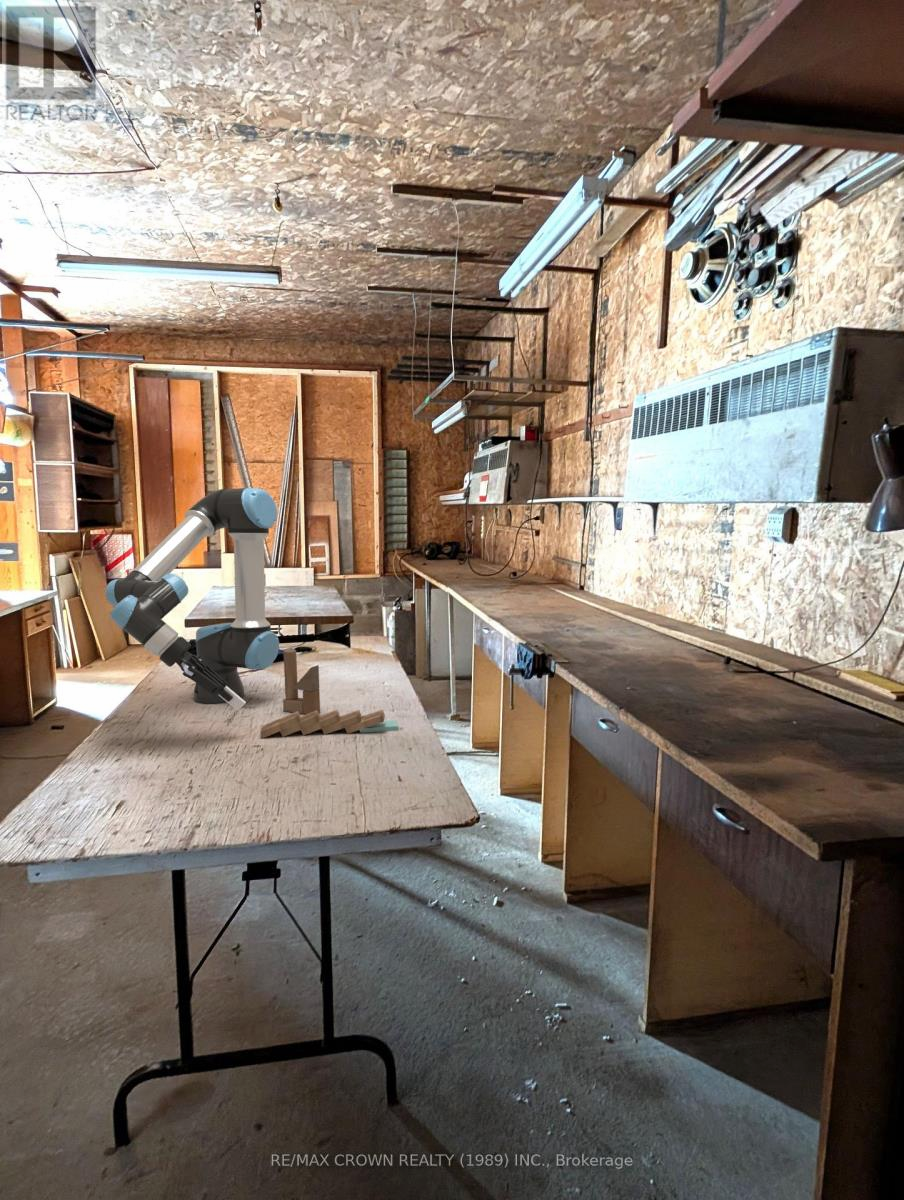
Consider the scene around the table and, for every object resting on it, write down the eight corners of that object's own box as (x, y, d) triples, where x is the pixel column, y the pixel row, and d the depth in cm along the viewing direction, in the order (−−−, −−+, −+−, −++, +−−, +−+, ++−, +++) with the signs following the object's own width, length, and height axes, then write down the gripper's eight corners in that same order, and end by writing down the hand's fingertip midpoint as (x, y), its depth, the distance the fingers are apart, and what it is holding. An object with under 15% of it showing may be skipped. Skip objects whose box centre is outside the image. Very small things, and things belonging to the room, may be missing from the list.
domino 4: (323, 722, 175) (359, 709, 176) (326, 728, 175) (361, 715, 176) (321, 728, 170) (358, 715, 171) (324, 734, 170) (360, 721, 171)
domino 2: (281, 724, 173) (317, 710, 174) (284, 730, 174) (319, 715, 175) (279, 731, 169) (316, 715, 169) (282, 737, 169) (319, 721, 170)
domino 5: (347, 720, 175) (382, 709, 175) (349, 726, 176) (384, 715, 176) (345, 727, 170) (381, 715, 170) (347, 733, 171) (383, 722, 171)
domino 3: (301, 723, 174) (337, 709, 175) (304, 729, 175) (339, 715, 176) (300, 729, 169) (337, 714, 171) (303, 735, 170) (339, 721, 171)
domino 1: (262, 725, 172) (298, 710, 174) (265, 731, 173) (300, 716, 174) (260, 732, 168) (296, 716, 169) (262, 738, 168) (299, 722, 169)
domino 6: (359, 722, 177) (396, 720, 178) (359, 728, 177) (396, 726, 178) (359, 728, 172) (397, 726, 173) (360, 735, 172) (398, 732, 173)
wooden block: (313, 716, 186) (310, 654, 183) (282, 711, 190) (280, 651, 188) (320, 712, 189) (318, 651, 187) (290, 708, 194) (288, 648, 191)
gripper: (164, 651, 169) (235, 709, 175) (151, 663, 157) (227, 725, 162) (185, 630, 170) (254, 689, 175) (173, 640, 157) (248, 703, 162)
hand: (241, 706), depth 168 cm, fingers closed
